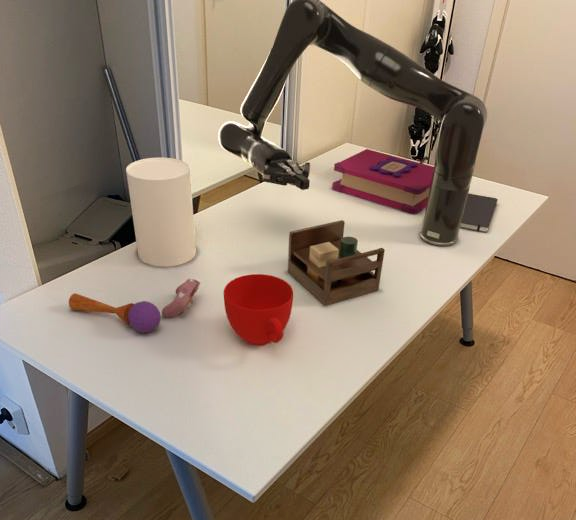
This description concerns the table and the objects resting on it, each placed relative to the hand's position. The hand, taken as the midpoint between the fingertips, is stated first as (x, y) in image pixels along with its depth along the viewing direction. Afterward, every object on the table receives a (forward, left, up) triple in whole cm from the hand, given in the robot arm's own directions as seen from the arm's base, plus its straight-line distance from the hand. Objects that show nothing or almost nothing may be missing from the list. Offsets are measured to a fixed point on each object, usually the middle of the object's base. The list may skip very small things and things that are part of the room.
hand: (306, 185), depth 129 cm
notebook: (-49, +26, -17) cm, 58 cm away
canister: (+16, -28, -17) cm, 37 cm away
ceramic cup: (+34, +10, -17) cm, 40 cm away
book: (-51, +1, -17) cm, 53 cm away
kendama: (+44, -18, -18) cm, 51 cm away
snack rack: (+6, +11, -17) cm, 22 cm away
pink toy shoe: (+33, -10, -18) cm, 39 cm away
